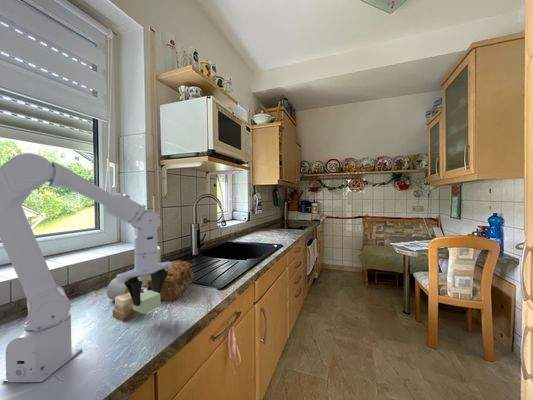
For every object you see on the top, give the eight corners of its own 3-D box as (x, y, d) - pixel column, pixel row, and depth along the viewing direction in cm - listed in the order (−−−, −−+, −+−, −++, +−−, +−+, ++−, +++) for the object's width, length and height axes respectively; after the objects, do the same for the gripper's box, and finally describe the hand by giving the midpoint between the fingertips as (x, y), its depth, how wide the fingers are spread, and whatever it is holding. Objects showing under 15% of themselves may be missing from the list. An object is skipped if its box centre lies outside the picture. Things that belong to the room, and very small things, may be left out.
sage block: (143, 313, 59) (142, 300, 59) (133, 309, 62) (132, 296, 62) (160, 305, 64) (160, 293, 64) (150, 301, 66) (149, 290, 66)
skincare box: (161, 279, 99) (160, 245, 99) (161, 283, 93) (161, 248, 93) (139, 282, 95) (138, 247, 95) (138, 287, 90) (137, 250, 90)
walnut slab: (123, 323, 64) (123, 314, 64) (112, 317, 67) (112, 309, 67) (143, 313, 69) (143, 305, 69) (133, 309, 72) (132, 301, 72)
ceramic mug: (126, 305, 74) (126, 282, 74) (106, 303, 76) (106, 280, 76) (149, 292, 85) (149, 272, 85) (131, 291, 86) (131, 271, 87)
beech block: (123, 313, 65) (122, 301, 65) (115, 308, 68) (114, 297, 68) (140, 306, 69) (140, 294, 69) (132, 302, 72) (132, 291, 72)
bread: (170, 282, 95) (169, 259, 95) (195, 282, 95) (194, 258, 95) (145, 302, 76) (145, 273, 76) (176, 302, 76) (176, 273, 76)
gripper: (161, 246, 71) (161, 289, 71) (110, 256, 59) (111, 308, 59) (175, 248, 68) (176, 293, 67) (124, 259, 55) (125, 315, 55)
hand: (146, 300), depth 63 cm, fingers closed on sage block, 5 cm apart
